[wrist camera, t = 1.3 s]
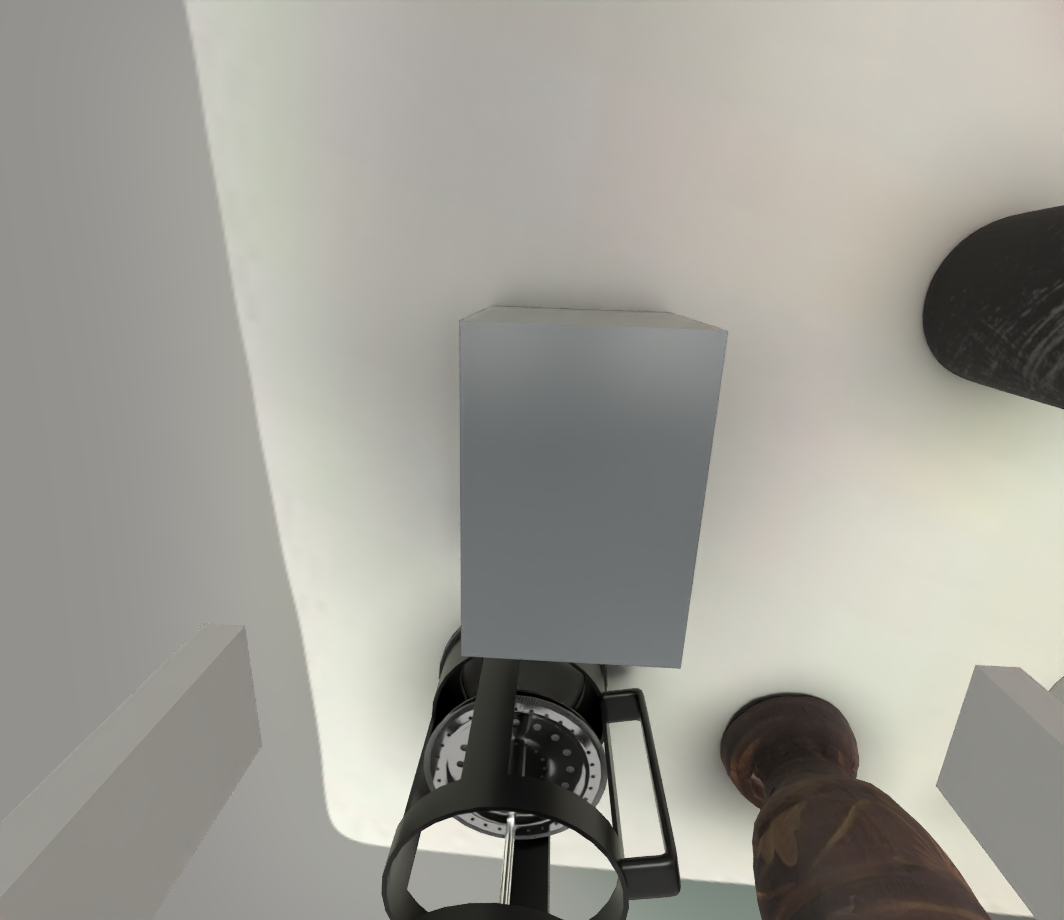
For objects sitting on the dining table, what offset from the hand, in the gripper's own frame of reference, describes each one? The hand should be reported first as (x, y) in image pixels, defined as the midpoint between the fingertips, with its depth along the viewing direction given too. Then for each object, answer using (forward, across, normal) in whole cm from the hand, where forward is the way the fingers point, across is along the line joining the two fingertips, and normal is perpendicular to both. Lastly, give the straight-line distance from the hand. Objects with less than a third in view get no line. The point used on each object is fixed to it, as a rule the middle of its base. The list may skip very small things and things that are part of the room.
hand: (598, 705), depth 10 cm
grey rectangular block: (+18, 0, 0) cm, 18 cm away
